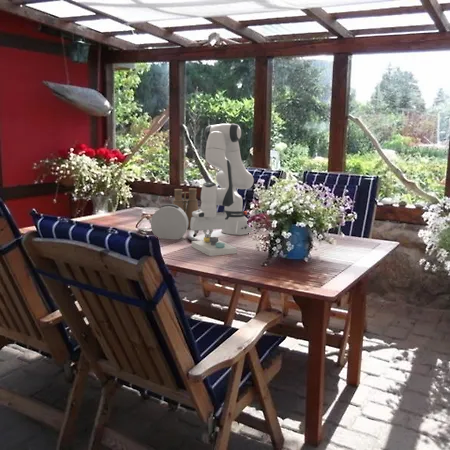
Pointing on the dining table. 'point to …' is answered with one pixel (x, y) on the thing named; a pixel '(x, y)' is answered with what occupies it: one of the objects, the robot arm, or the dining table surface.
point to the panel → (213, 248)
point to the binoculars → (191, 203)
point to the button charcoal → (213, 240)
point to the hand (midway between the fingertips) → (207, 237)
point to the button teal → (220, 245)
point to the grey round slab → (169, 222)
